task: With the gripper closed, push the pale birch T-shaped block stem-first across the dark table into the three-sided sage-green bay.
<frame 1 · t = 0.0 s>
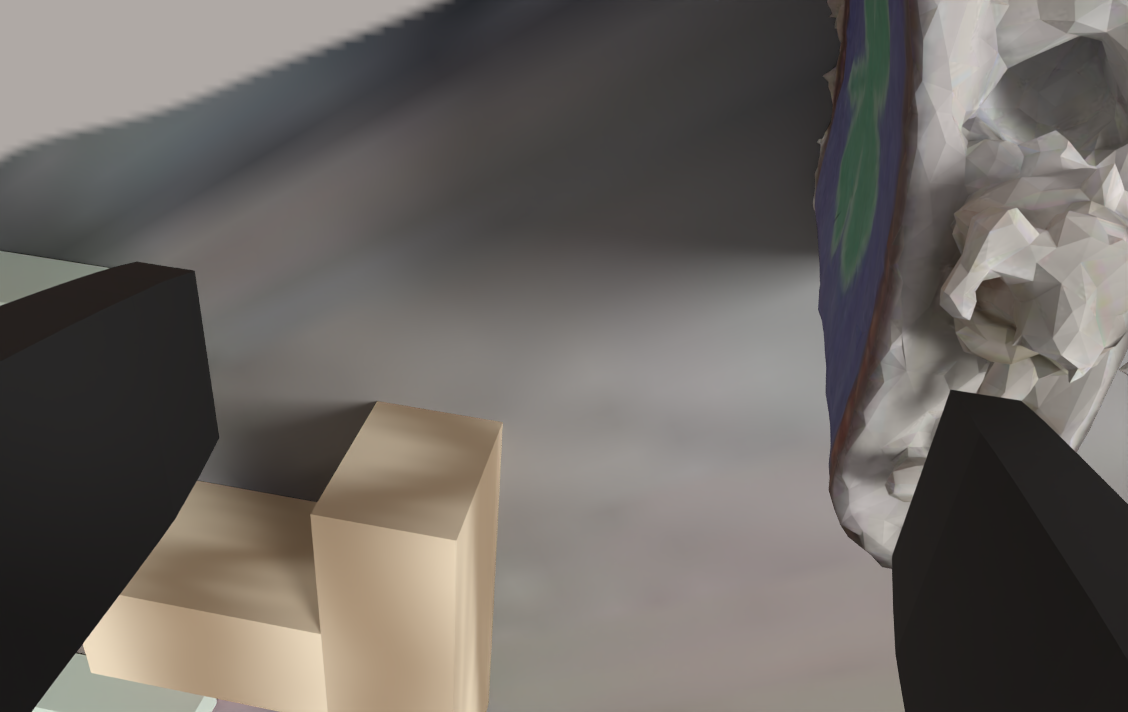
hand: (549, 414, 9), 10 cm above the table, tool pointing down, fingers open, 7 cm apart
T block: (364, 553, 26), on the table
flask: (904, 5, 17), on the table
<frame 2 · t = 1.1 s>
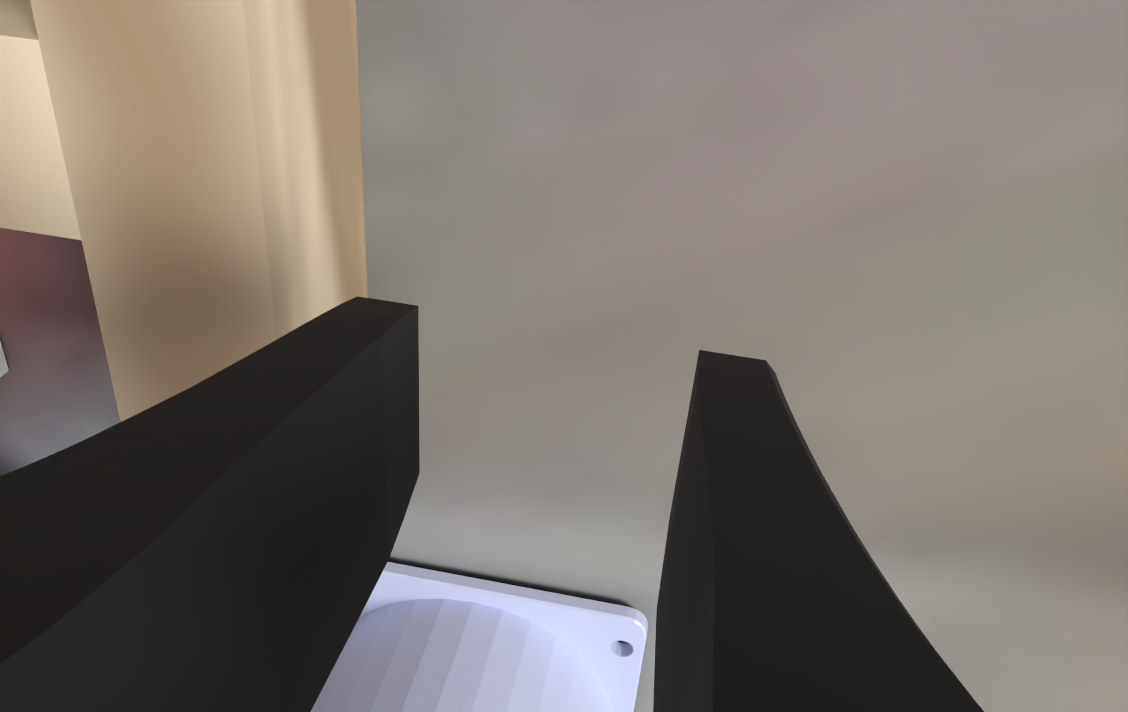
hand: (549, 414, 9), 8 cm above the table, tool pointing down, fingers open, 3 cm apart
T block: (170, 64, 17), on the table
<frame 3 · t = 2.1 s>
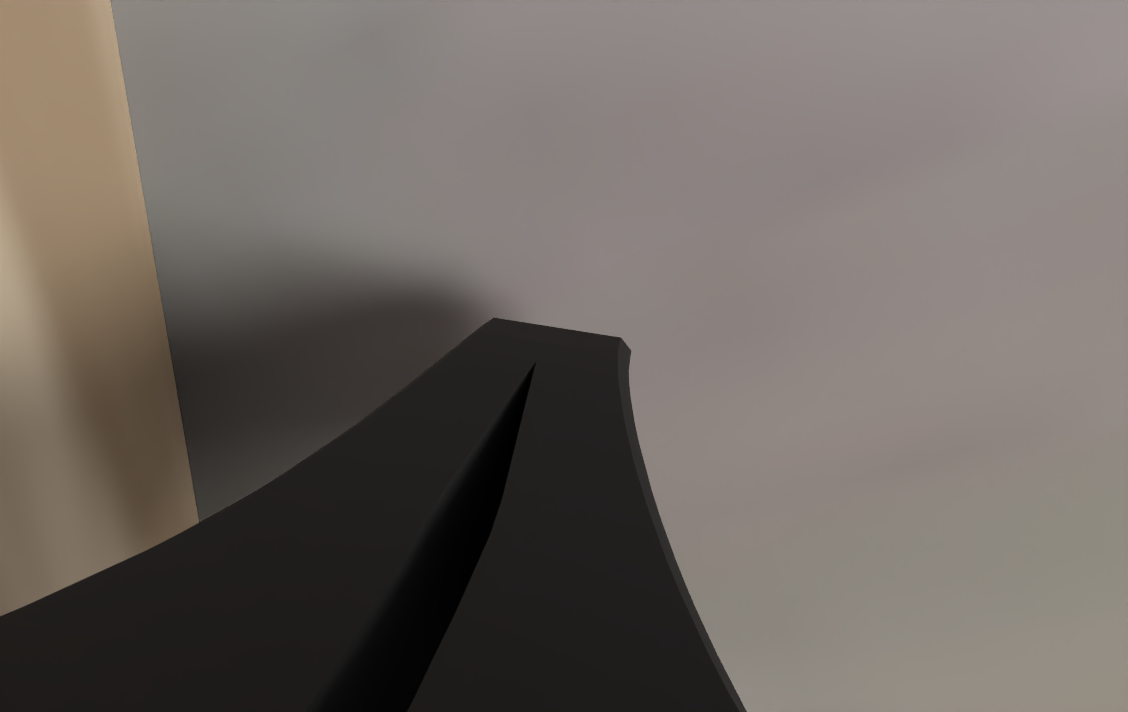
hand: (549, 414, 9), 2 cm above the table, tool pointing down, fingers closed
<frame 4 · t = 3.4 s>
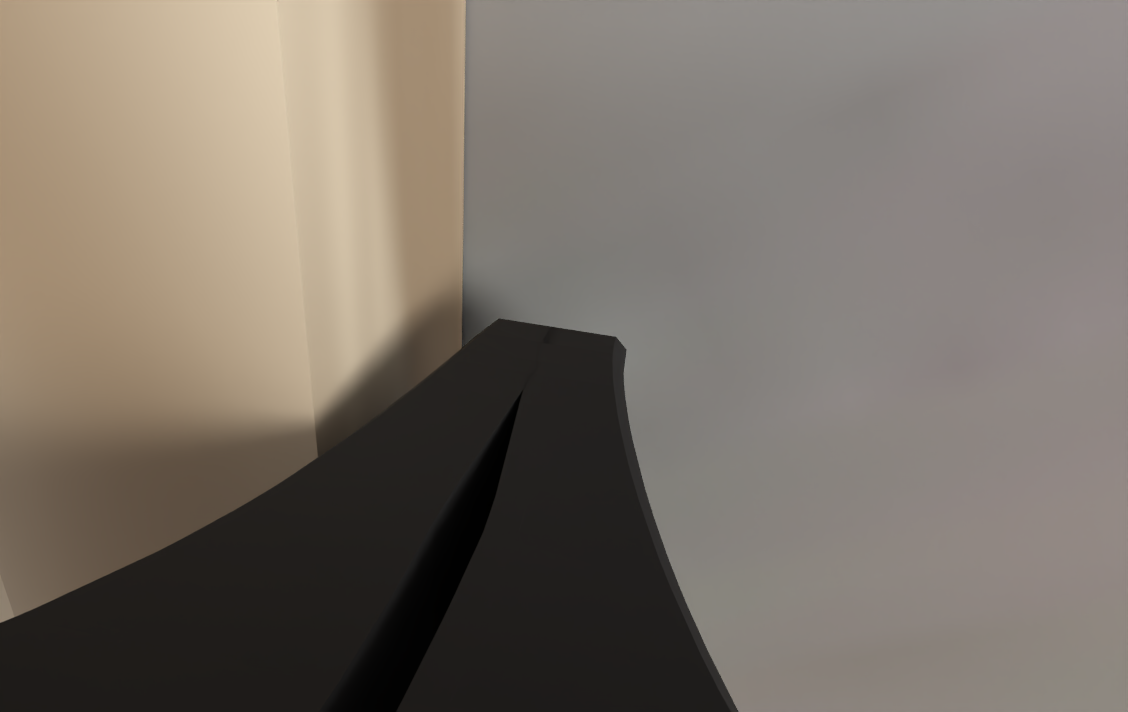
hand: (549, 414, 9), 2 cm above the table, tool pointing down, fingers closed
T block: (169, 271, 11), on the table, touching gripper
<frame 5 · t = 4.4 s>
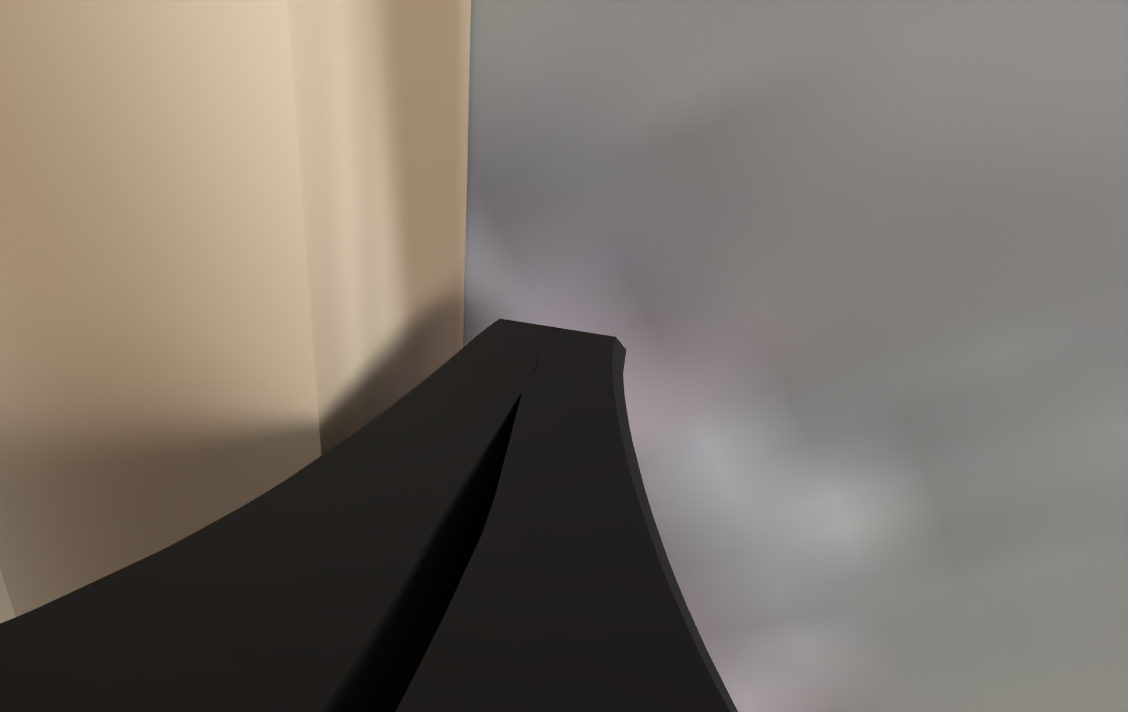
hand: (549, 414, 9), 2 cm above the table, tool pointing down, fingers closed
T block: (171, 272, 11), on the table, touching gripper
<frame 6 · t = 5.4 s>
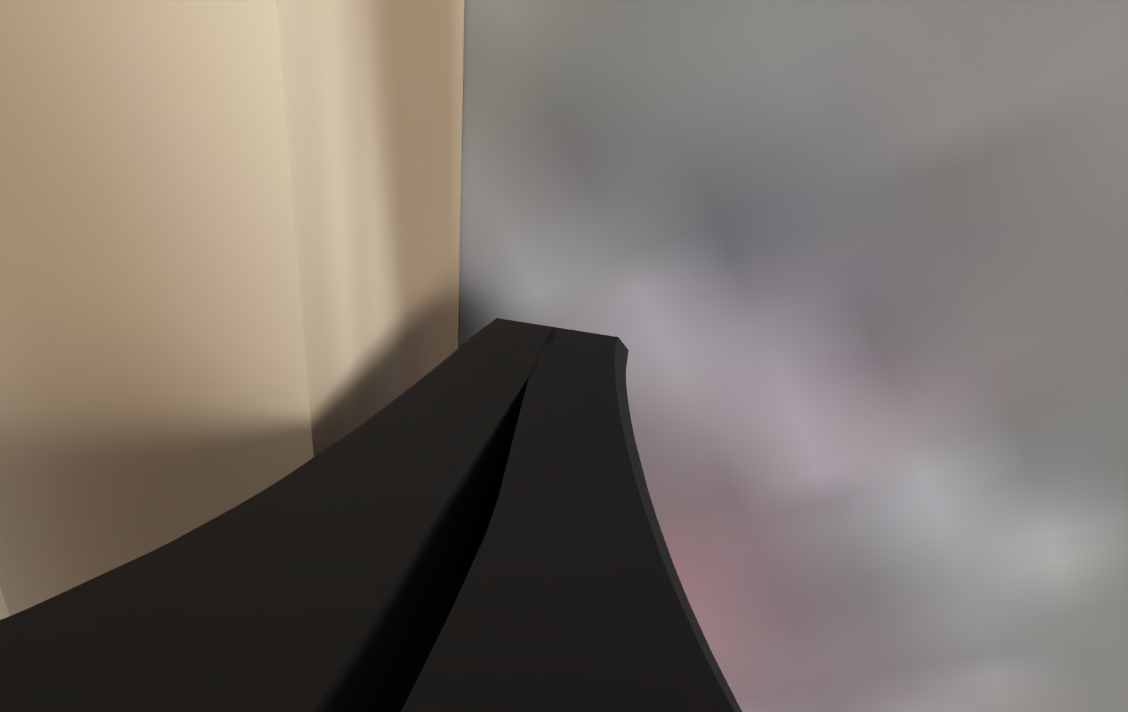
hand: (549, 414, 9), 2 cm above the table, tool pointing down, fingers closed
T block: (166, 272, 11), on the table, touching gripper
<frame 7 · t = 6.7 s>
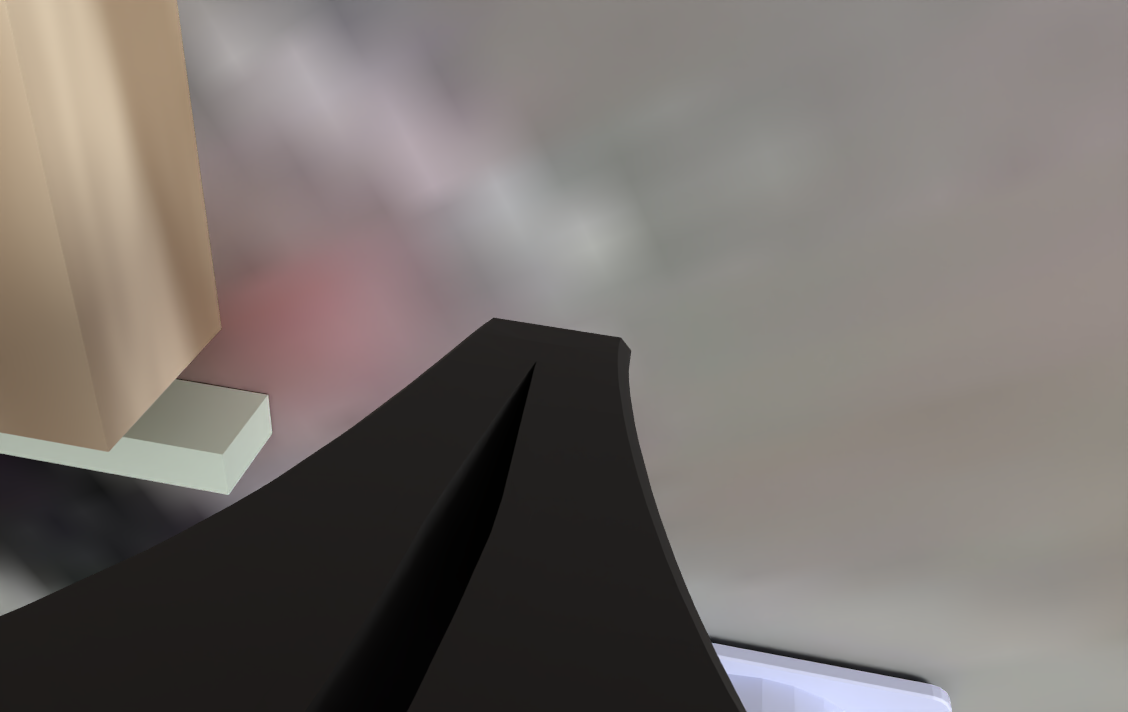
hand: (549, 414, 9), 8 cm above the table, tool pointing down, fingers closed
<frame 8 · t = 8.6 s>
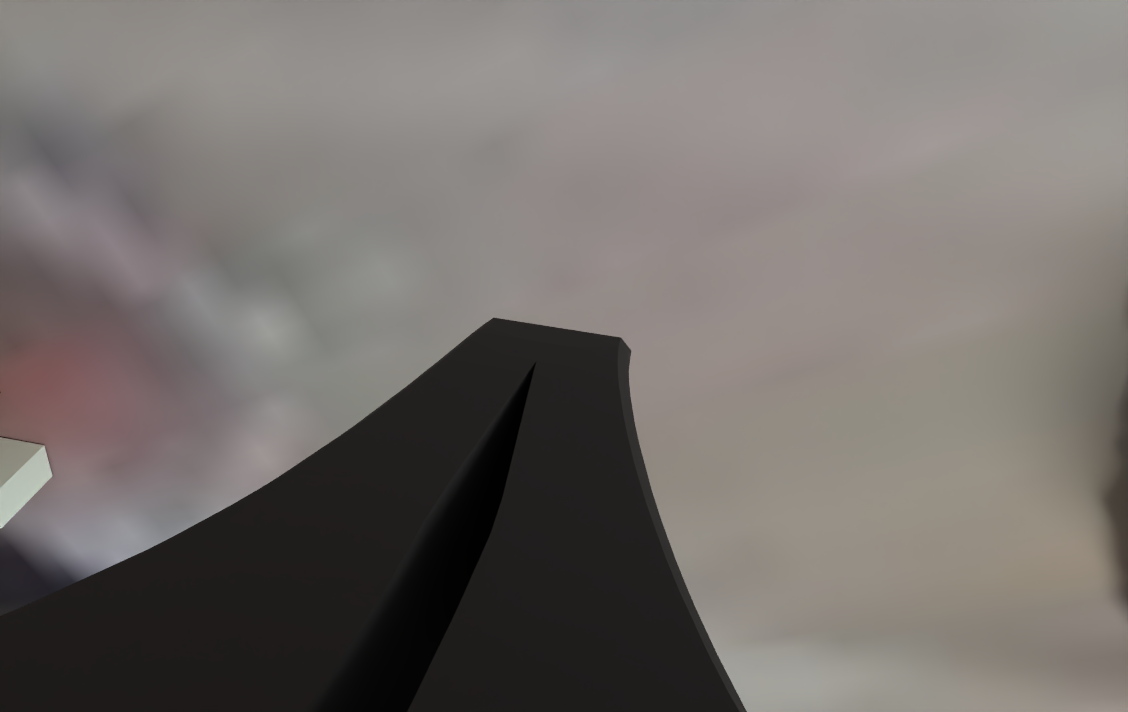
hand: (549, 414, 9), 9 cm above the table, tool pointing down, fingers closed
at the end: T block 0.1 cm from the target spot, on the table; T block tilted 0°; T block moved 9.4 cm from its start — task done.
